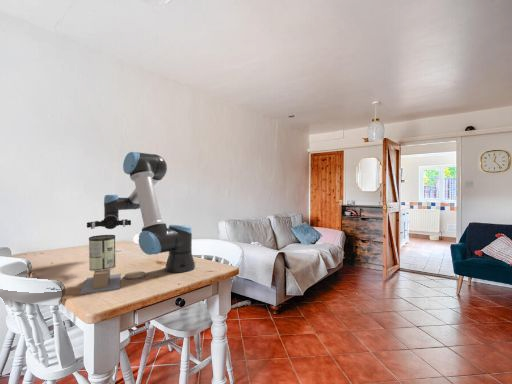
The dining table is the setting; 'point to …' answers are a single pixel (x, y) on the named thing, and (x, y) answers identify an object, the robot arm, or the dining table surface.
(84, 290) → the fulcrum board
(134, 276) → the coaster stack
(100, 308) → the dining table surface
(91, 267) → the coffee can
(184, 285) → the dining table surface
